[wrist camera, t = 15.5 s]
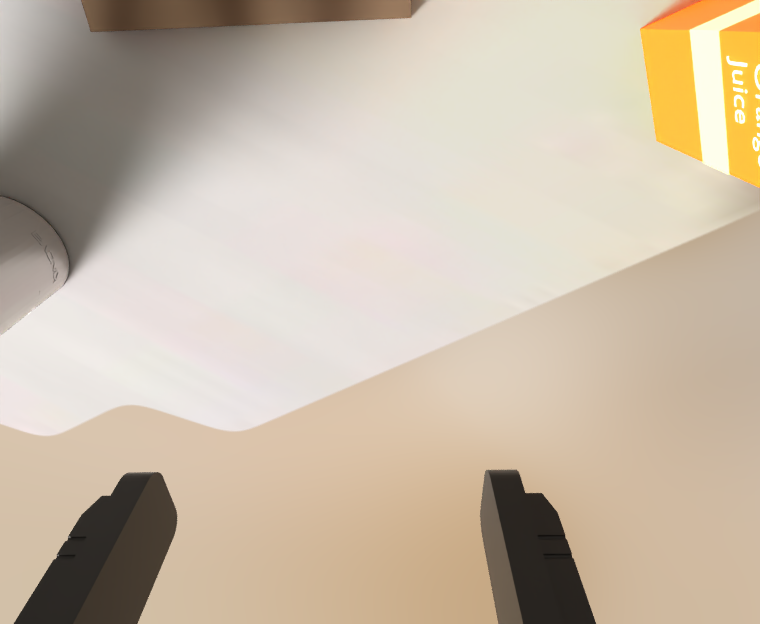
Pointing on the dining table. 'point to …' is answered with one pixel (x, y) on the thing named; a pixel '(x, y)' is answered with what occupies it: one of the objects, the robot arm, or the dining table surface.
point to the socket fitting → (232, 12)
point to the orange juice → (708, 83)
